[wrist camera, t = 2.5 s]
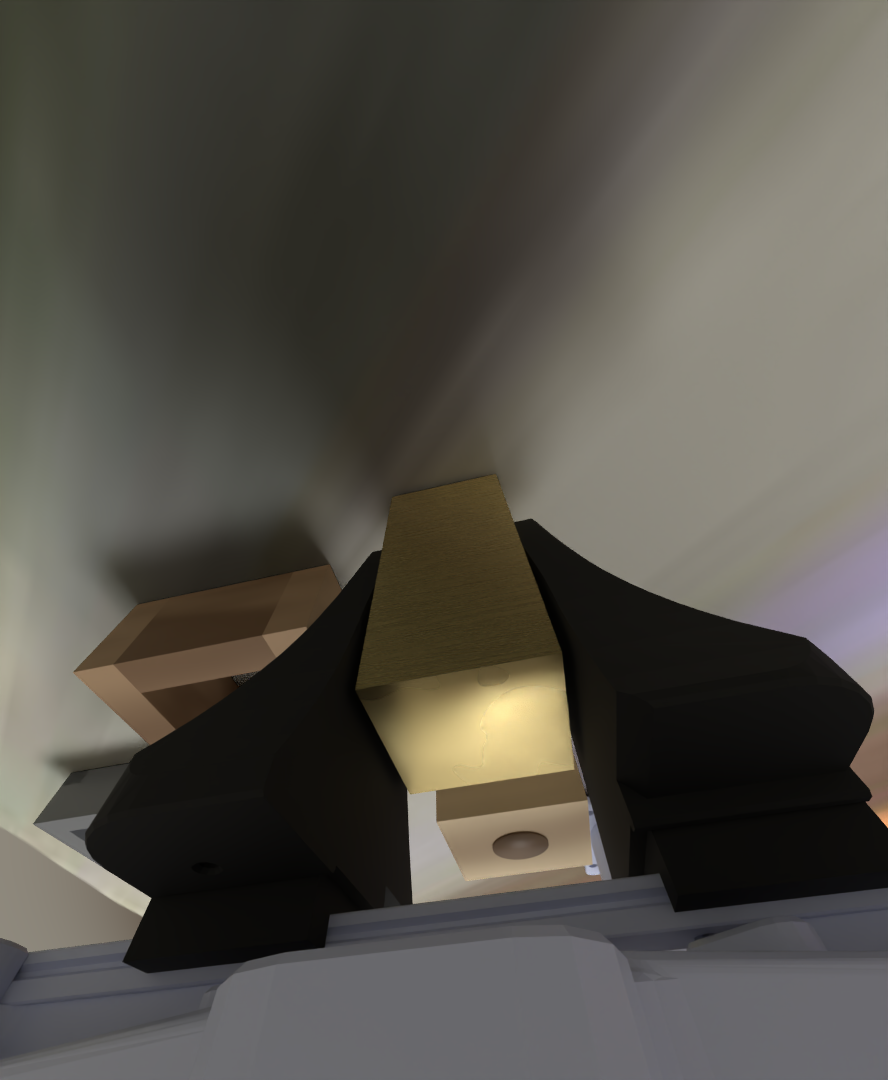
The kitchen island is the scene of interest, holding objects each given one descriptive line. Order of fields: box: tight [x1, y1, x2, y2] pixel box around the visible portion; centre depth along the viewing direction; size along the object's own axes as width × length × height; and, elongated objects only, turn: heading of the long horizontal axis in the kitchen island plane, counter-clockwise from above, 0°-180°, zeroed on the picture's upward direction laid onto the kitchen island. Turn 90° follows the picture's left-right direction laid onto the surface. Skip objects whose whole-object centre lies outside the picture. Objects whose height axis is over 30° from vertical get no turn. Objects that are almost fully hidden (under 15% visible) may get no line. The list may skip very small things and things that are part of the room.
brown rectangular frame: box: [73, 564, 342, 745], centre depth 14 cm, size 7×7×3 cm
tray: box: [33, 763, 129, 867], centre depth 21 cm, size 10×10×2 cm
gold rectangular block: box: [355, 474, 574, 794], centre depth 10 cm, size 3×3×7 cm
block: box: [436, 751, 593, 881], centre depth 15 cm, size 4×4×6 cm
